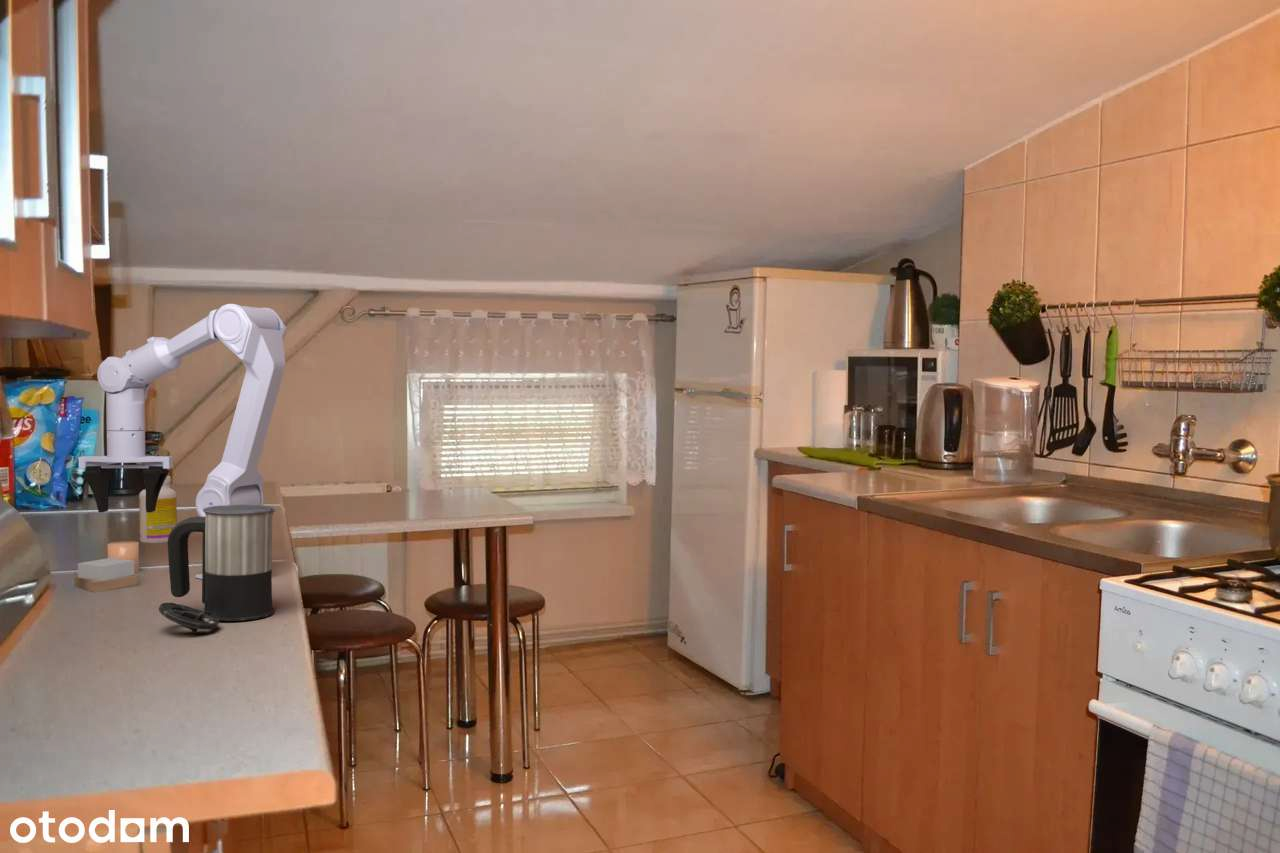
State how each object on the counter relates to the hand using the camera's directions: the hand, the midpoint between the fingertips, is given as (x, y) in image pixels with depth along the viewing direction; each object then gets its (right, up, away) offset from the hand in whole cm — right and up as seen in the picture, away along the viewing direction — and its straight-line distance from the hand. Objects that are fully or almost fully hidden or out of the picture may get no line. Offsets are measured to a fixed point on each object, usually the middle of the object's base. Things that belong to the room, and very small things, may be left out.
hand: (127, 511), depth 171 cm
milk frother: (+30, -12, -34) cm, 47 cm away
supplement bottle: (-9, -9, +30) cm, 33 cm away
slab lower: (+3, -11, -13) cm, 17 cm away
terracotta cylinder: (0, -10, -2) cm, 10 cm away
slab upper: (+3, -9, -13) cm, 16 cm away
